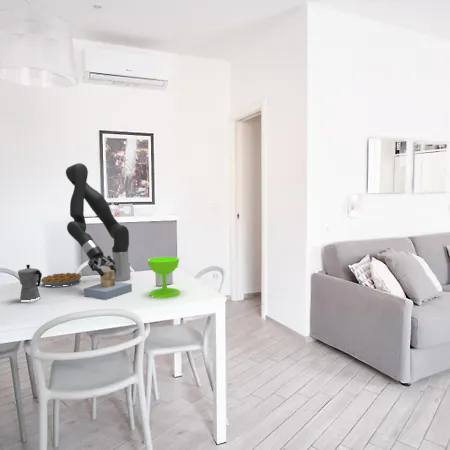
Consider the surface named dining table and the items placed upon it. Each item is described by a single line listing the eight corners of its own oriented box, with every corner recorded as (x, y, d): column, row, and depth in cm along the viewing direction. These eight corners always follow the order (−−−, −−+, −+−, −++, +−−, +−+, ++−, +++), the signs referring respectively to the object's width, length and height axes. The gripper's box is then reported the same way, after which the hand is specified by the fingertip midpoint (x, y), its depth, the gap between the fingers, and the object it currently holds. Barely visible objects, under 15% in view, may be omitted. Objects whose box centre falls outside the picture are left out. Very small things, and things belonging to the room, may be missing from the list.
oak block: (108, 284, 209) (107, 269, 208) (114, 285, 207) (114, 270, 206) (100, 286, 205) (100, 271, 204) (107, 287, 202) (107, 272, 202)
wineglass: (183, 289, 211) (181, 256, 209) (176, 297, 195) (175, 262, 194) (154, 289, 213) (152, 256, 211) (145, 297, 197) (143, 262, 195)
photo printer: (169, 282, 228) (168, 261, 227) (174, 283, 225) (173, 262, 224) (154, 285, 221) (153, 264, 220) (159, 286, 218) (158, 265, 217)
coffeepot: (12, 301, 195) (10, 265, 194) (29, 296, 204) (26, 262, 202) (34, 304, 189) (32, 267, 187) (50, 299, 197) (48, 263, 196)
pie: (54, 279, 243) (53, 271, 243) (88, 279, 241) (87, 271, 241) (33, 288, 222) (33, 279, 221) (70, 288, 220) (70, 279, 219)
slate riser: (110, 287, 218) (109, 280, 217) (131, 291, 210) (131, 283, 210) (84, 295, 202) (83, 288, 202) (106, 299, 194) (106, 291, 194)
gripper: (85, 247, 201) (102, 271, 197) (106, 244, 214) (122, 266, 209) (78, 257, 204) (95, 281, 200) (99, 253, 217) (115, 275, 212)
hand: (109, 273), depth 204 cm, fingers open, 8 cm apart
